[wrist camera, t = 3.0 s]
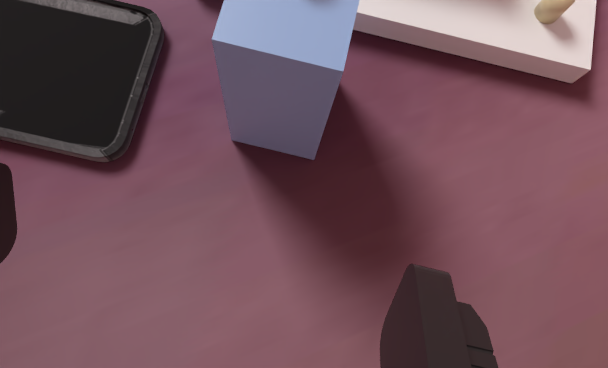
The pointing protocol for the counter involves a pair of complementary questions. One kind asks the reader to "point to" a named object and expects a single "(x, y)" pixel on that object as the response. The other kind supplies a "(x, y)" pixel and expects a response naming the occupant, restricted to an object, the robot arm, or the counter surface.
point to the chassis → (492, 31)
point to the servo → (282, 69)
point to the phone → (75, 74)
